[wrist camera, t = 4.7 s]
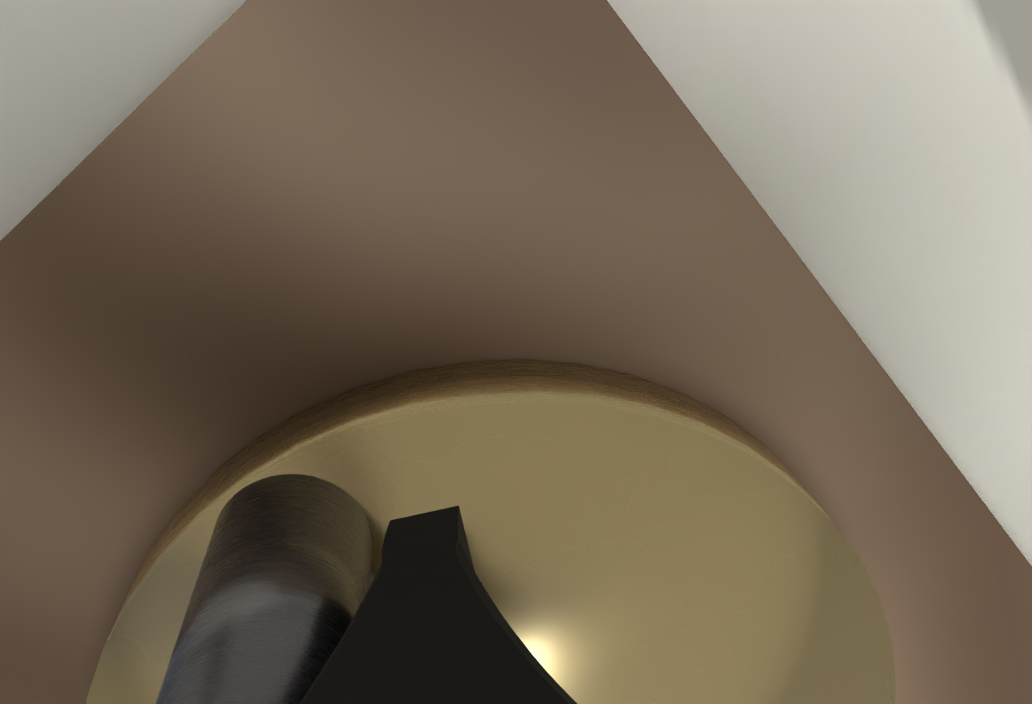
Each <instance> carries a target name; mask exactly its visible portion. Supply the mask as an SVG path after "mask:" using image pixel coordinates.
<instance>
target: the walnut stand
mask: <svg viewBox="0 0 1032 704" xmlns="http://www.w3.org/2000/svg"><path fill="white" fill-rule="evenodd" d="M514 360H531V361H543V362H555V363H568V364H580V365H585V366H589V367H594V368H599V369H604V370H608V371H613V372H618V373H623V374H627V375H632V376H635V377H638V378H641V379H643V380H646V381H649V382H652V383H655V384H658V385H660V386H663V387H666V388H669V389H672V390H675V391H677V392H680V393H682V394H684V395H686V396H688V397H690V398H692V399H694V400H696V401H698V402H700V403H701V404H703V405H705V406H707V407H709V408H711V409H713V410H715V411H717V412H719V413H721V414H723V415H724V416H726V417H727V418H729V419H730V420H731V421H733V422H734V423H736V424H737V425H738V426H740V427H741V428H742V429H744V430H745V431H747V432H748V433H749V434H751V435H752V436H754V437H755V438H756V439H758V440H759V441H761V442H762V443H763V444H764V445H765V446H766V447H767V448H768V449H769V450H770V451H771V452H772V453H773V454H774V455H775V456H776V457H777V458H778V459H779V460H780V461H781V462H782V463H783V464H784V465H785V466H786V467H787V468H788V469H789V470H790V471H791V472H792V473H793V474H794V475H795V476H796V477H797V479H798V480H799V481H800V482H801V484H802V485H803V486H804V487H805V488H806V490H807V491H808V492H809V493H810V495H811V496H812V497H813V498H814V500H815V501H816V502H817V503H818V504H819V506H820V507H821V508H822V509H823V511H824V512H825V513H826V514H827V515H828V517H829V518H830V519H831V520H832V522H833V523H834V524H835V526H836V527H837V528H838V530H839V531H840V532H841V534H842V535H843V536H844V538H845V539H846V540H847V542H848V543H849V545H850V546H851V547H852V549H853V550H854V551H855V553H856V554H857V555H858V557H859V558H860V560H861V562H862V564H863V566H864V568H865V570H866V572H867V574H868V576H869V578H870V580H871V582H872V584H873V586H874V588H875V590H876V592H877V594H878V596H879V599H880V602H881V606H882V609H883V612H884V615H885V619H886V622H887V625H888V628H889V632H890V635H891V642H892V650H893V658H894V665H895V673H896V685H895V704H1032V566H1031V565H1030V564H1029V562H1028V561H1027V560H1026V558H1025V557H1024V556H1023V554H1022V553H1021V552H1020V550H1019V549H1018V548H1017V546H1016V545H1015V544H1014V542H1013V541H1012V540H1011V538H1010V537H1009V536H1008V534H1007V533H1006V532H1005V530H1004V529H1003V528H1002V526H1001V525H1000V524H999V522H998V521H997V520H996V518H995V517H994V516H993V514H992V513H991V512H990V510H989V509H988V508H987V506H986V505H985V504H984V502H983V501H982V500H981V498H980V497H979V496H978V494H977V493H976V492H975V490H974V489H973V488H972V486H971V485H970V484H969V482H968V481H967V480H966V478H965V477H964V476H963V474H962V473H961V472H960V470H959V469H958V468H957V466H956V465H955V464H954V462H953V461H952V460H951V458H950V457H949V456H948V454H947V453H946V452H945V450H944V449H943V448H942V446H941V445H940V444H939V442H938V441H937V440H936V438H935V437H934V436H933V434H932V433H931V432H930V430H929V429H928V428H927V426H926V425H925V424H924V422H923V421H922V420H921V418H920V417H919V416H918V414H917V413H916V412H915V410H914V409H913V408H912V407H911V405H910V404H909V403H908V401H907V400H906V399H905V397H904V396H903V395H902V393H901V392H900V391H899V389H898V388H897V387H896V385H895V384H894V383H893V381H892V380H891V379H890V377H889V376H888V375H887V373H886V372H885V371H884V369H883V368H882V367H881V365H880V364H879V363H878V361H877V360H876V359H875V357H874V356H873V355H872V353H871V352H870V351H869V349H868V348H867V347H866V345H865V344H864V343H863V341H862V340H861V339H860V337H859V336H858V335H857V333H856V332H855V331H854V329H853V328H852V327H851V325H850V324H849V323H848V321H847V320H846V319H845V317H844V316H843V315H842V313H841V312H840V311H839V309H838V308H837V307H836V305H835V304H834V303H833V301H832V300H831V299H830V297H829V296H828V295H827V293H826V292H825V291H824V289H823V288H822V287H821V285H820V284H819V283H818V281H817V280H816V279H815V277H814V276H813V275H812V273H811V272H810V271H809V269H808V268H807V267H806V265H805V264H804V263H803V261H802V260H801V259H800V257H799V256H798V255H797V253H796V252H795V251H794V249H793V248H792V247H791V245H790V244H789V243H788V241H787V240H786V239H785V237H784V236H783V235H782V233H781V232H780V231H779V229H778V228H777V227H776V225H775V224H774V223H773V221H772V220H771V219H770V217H769V216H768V215H767V213H766V212H765V211H764V209H763V208H762V207H761V205H760V204H759V203H758V201H757V200H756V199H755V197H754V196H753V195H752V193H751V192H750V191H749V189H748V188H747V187H746V185H745V184H744V183H743V181H742V180H741V179H740V177H739V176H738V175H737V173H736V172H735V171H734V169H733V168H732V167H731V165H730V164H729V163H728V161H727V160H726V159H725V157H724V156H723V155H722V153H721V152H720V151H719V149H718V148H717V147H716V145H715V144H714V143H713V141H712V140H711V139H710V137H709V136H708V135H707V133H706V132H705V131H704V129H703V128H702V127H701V125H700V124H699V123H698V121H697V120H696V119H695V117H694V116H693V115H692V113H691V112H690V111H689V109H688V108H687V107H686V105H685V104H684V103H683V101H682V100H681V99H680V98H679V96H678V95H677V94H676V92H675V91H674V90H673V88H672V87H671V86H670V84H669V83H668V82H667V80H666V79H665V78H664V76H663V75H662V74H661V72H660V71H659V70H658V68H657V67H656V66H655V64H654V63H653V62H652V60H651V59H650V58H649V56H648V55H647V54H646V52H645V51H644V50H643V48H642V47H641V46H640V44H639V43H638V42H637V40H636V39H635V38H634V36H633V35H632V34H631V32H630V31H629V30H628V28H627V27H626V26H625V24H624V23H623V22H622V20H621V19H620V18H619V16H618V15H617V14H616V12H615V11H614V10H613V8H612V7H611V6H610V4H609V3H608V2H607V0H247V1H246V2H245V3H244V4H243V5H242V6H241V7H240V8H239V9H238V10H237V11H236V12H235V13H234V14H233V15H232V16H231V17H230V18H229V19H228V20H227V21H226V22H225V23H224V24H223V25H222V26H221V27H220V28H219V29H218V30H217V31H216V32H215V33H214V34H213V35H211V36H210V37H209V38H208V39H207V40H206V41H205V42H204V43H203V44H202V45H201V46H200V47H199V48H198V49H197V50H196V51H195V52H194V53H193V54H192V55H191V56H190V57H189V58H188V59H187V60H186V61H185V62H184V63H183V64H182V65H181V66H180V67H179V68H178V69H177V70H176V71H175V72H174V73H173V74H172V75H170V76H169V77H168V78H167V79H166V80H165V81H164V82H163V83H162V84H161V85H160V86H159V87H158V88H157V89H156V90H155V91H154V92H153V93H152V94H151V95H150V96H149V97H148V98H147V99H146V100H145V101H144V102H143V103H142V104H141V105H140V106H139V107H138V108H137V109H136V110H135V111H134V112H133V113H132V114H131V115H130V116H128V117H127V118H126V119H125V120H124V121H123V122H122V123H121V124H120V125H119V126H118V127H117V128H116V129H115V130H114V131H113V132H112V133H111V134H110V135H109V136H108V137H107V138H106V139H105V140H104V141H103V142H102V143H101V144H100V145H99V146H98V147H97V148H96V149H95V150H94V151H93V152H92V153H91V154H90V155H89V156H87V157H86V158H85V159H84V160H83V161H82V162H81V163H80V164H79V165H78V166H77V167H76V168H75V169H74V170H73V171H72V172H71V173H70V174H69V175H68V176H67V177H66V178H65V179H64V180H63V181H62V182H61V183H60V184H59V185H58V186H57V187H56V188H55V189H54V190H53V191H52V192H51V193H50V194H49V195H48V196H47V197H45V198H44V199H43V200H42V201H41V202H40V203H39V204H38V205H37V206H36V207H35V208H34V209H33V210H32V211H31V212H30V213H29V214H28V215H27V216H26V217H25V218H24V219H23V220H22V221H21V222H20V223H19V224H18V225H17V226H16V227H15V228H14V229H13V230H12V231H11V232H10V233H9V234H8V235H7V236H6V237H4V238H3V239H2V240H1V241H0V704H86V700H87V696H88V693H89V690H90V687H91V684H92V681H93V678H94V674H95V671H96V668H97V665H98V662H99V659H100V656H101V653H102V651H103V648H104V646H105V644H106V642H107V639H108V637H109V635H110V632H111V630H112V628H113V626H114V623H115V621H116V619H117V617H118V614H119V612H120V610H121V607H122V605H123V603H124V601H125V598H126V596H127V594H128V592H129V589H130V587H131V585H132V584H133V582H134V580H135V578H136V576H137V574H138V572H139V570H140V568H141V566H142V564H143V562H144V560H145V558H146V556H147V554H148V552H149V550H150V548H151V547H152V546H153V544H154V543H155V541H156V540H157V539H158V537H159V536H160V534H161V533H162V532H163V530H164V529H165V528H166V526H167V525H168V523H169V522H170V521H171V519H172V518H173V517H174V515H175V514H176V512H177V511H178V510H179V508H180V507H181V506H182V505H183V504H184V503H185V502H186V501H187V500H188V499H189V498H190V497H191V496H192V495H193V494H194V493H195V492H196V491H197V490H198V489H199V488H200V487H201V486H202V485H203V484H204V483H205V481H206V480H207V479H208V478H209V477H210V476H211V475H212V474H213V473H214V472H215V471H216V470H218V469H219V468H220V467H221V466H223V465H224V464H225V463H227V462H228V461H229V460H230V459H232V458H233V457H234V456H236V455H237V454H238V453H239V452H241V451H242V450H243V449H245V448H246V447H247V446H248V445H250V444H251V443H252V442H254V441H255V440H256V439H257V438H259V437H261V436H262V435H264V434H266V433H267V432H269V431H271V430H273V429H274V428H276V427H278V426H279V425H281V424H283V423H284V422H286V421H288V420H289V419H291V418H293V417H295V416H296V415H298V414H300V413H301V412H303V411H305V410H307V409H309V408H311V407H314V406H316V405H318V404H321V403H323V402H325V401H328V400H330V399H332V398H335V397H337V396H339V395H342V394H344V393H346V392H349V391H351V390H353V389H356V388H358V387H362V386H365V385H368V384H372V383H375V382H379V381H382V380H386V379H389V378H392V377H396V376H399V375H403V374H406V373H409V372H413V371H420V370H426V369H432V368H438V367H444V366H450V365H456V364H462V363H468V362H490V361H514Z"/></svg>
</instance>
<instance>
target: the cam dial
mask: <svg viewBox="0 0 1032 704" xmlns="http://www.w3.org/2000/svg"><path fill="white" fill-rule="evenodd" d="M454 506H459V508H460V512H461V516H462V521H463V525H464V529H465V533H466V537H467V541H468V546H469V550H470V554H471V558H472V562H473V566H474V571H475V573H476V575H477V577H478V578H479V580H480V582H481V583H482V585H483V586H484V588H485V590H486V591H487V593H488V594H489V596H490V597H491V599H492V600H493V602H494V603H495V605H496V607H497V608H498V610H499V611H500V613H501V614H502V615H503V617H504V618H505V620H506V621H507V622H508V624H509V625H510V627H511V628H512V629H513V631H514V632H515V633H516V634H517V636H518V637H519V638H520V639H521V641H522V642H523V643H524V644H525V646H526V647H527V648H528V650H529V651H530V652H531V653H532V655H533V656H534V657H535V658H536V659H537V660H538V662H539V663H540V664H541V665H542V666H543V668H544V669H545V670H546V671H547V672H548V673H549V674H550V675H551V677H552V678H553V679H554V680H555V681H556V682H557V683H558V684H559V685H560V686H561V687H562V688H563V689H564V690H565V691H566V692H567V693H568V694H569V696H570V697H571V698H572V699H573V700H574V701H575V702H576V703H577V704H895V685H896V673H895V665H894V658H893V650H892V642H891V635H890V632H889V628H888V625H887V622H886V619H885V615H884V612H883V609H882V606H881V602H880V599H879V596H878V594H877V592H876V590H875V588H874V586H873V584H872V582H871V580H870V578H869V576H868V574H867V572H866V570H865V568H864V566H863V564H862V562H861V560H860V558H859V557H858V555H857V554H856V553H855V551H854V550H853V549H852V547H851V546H850V545H849V543H848V542H847V540H846V539H845V538H844V536H843V535H842V534H841V532H840V531H839V530H838V528H837V527H836V526H835V524H834V523H833V522H832V520H831V519H830V518H829V517H828V515H827V514H826V513H825V512H824V511H823V509H822V508H821V507H820V506H819V504H818V503H817V502H816V501H815V500H814V498H813V497H812V496H811V495H810V493H809V492H808V491H807V490H806V488H805V487H804V486H803V485H802V484H801V482H800V481H799V480H798V479H797V477H796V476H795V475H794V474H793V473H792V472H791V471H790V470H789V469H788V468H787V467H786V466H785V465H784V464H783V463H782V462H781V461H780V460H779V459H778V458H777V457H776V456H775V455H774V454H773V453H772V452H771V451H770V450H769V449H768V448H767V447H766V446H765V445H764V444H763V443H762V442H761V441H759V440H758V439H756V438H755V437H754V436H752V435H751V434H749V433H748V432H747V431H745V430H744V429H742V428H741V427H740V426H738V425H737V424H736V423H734V422H733V421H731V420H730V419H729V418H727V417H726V416H724V415H723V414H721V413H719V412H717V411H715V410H713V409H711V408H709V407H707V406H705V405H703V404H701V403H700V402H698V401H696V400H694V399H692V398H690V397H688V396H686V395H684V394H682V393H680V392H677V391H675V390H672V389H669V388H666V387H663V386H660V385H658V384H655V383H652V382H649V381H646V380H643V379H641V378H638V377H635V376H632V375H627V374H623V373H618V372H613V371H608V370H604V369H599V368H594V367H589V366H585V365H580V364H568V363H555V362H543V361H531V360H514V361H490V362H468V363H462V364H456V365H450V366H444V367H438V368H432V369H426V370H420V371H413V372H409V373H406V374H403V375H399V376H396V377H392V378H389V379H386V380H382V381H379V382H375V383H372V384H368V385H365V386H362V387H358V388H356V389H353V390H351V391H349V392H346V393H344V394H342V395H339V396H337V397H335V398H332V399H330V400H328V401H325V402H323V403H321V404H318V405H316V406H314V407H311V408H309V409H307V410H305V411H303V412H301V413H300V414H298V415H296V416H295V417H293V418H291V419H289V420H288V421H286V422H284V423H283V424H281V425H279V426H278V427H276V428H274V429H273V430H271V431H269V432H267V433H266V434H264V435H262V436H261V437H259V438H257V439H256V440H255V441H254V442H252V443H251V444H250V445H248V446H247V447H246V448H245V449H243V450H242V451H241V452H239V453H238V454H237V455H236V456H234V457H233V458H232V459H230V460H229V461H228V462H227V463H225V464H224V465H223V466H221V467H220V468H219V469H218V470H216V471H215V472H214V473H213V474H212V475H211V476H210V477H209V478H208V479H207V480H206V481H205V483H204V484H203V485H202V486H201V487H200V488H199V489H198V490H197V491H196V492H195V493H194V494H193V495H192V496H191V497H190V498H189V499H188V500H187V501H186V502H185V503H184V504H183V505H182V506H181V507H180V508H179V510H178V511H177V512H176V514H175V515H174V517H173V518H172V519H171V521H170V522H169V523H168V525H167V526H166V528H165V529H164V530H163V532H162V533H161V534H160V536H159V537H158V539H157V540H156V541H155V543H154V544H153V546H152V547H151V548H150V550H149V552H148V554H147V556H146V558H145V560H144V562H143V564H142V566H141V568H140V570H139V572H138V574H137V576H136V578H135V580H134V582H133V584H132V585H131V587H130V589H129V592H128V594H127V596H126V598H125V601H124V603H123V605H122V607H121V610H120V612H119V614H118V617H117V619H116V621H115V623H114V626H113V628H112V630H111V632H110V635H109V637H108V639H107V642H106V644H105V646H104V648H103V651H102V653H101V656H100V659H99V662H98V665H97V668H96V671H95V674H94V678H93V681H92V684H91V687H90V690H89V693H88V696H87V700H86V704H300V702H301V701H302V699H303V698H304V696H305V695H306V693H307V692H308V690H309V689H310V687H311V686H312V684H313V682H314V681H315V679H316V678H317V676H318V675H319V673H320V672H321V670H322V668H323V667H324V665H325V664H326V662H327V661H328V659H329V657H330V656H331V654H332V653H333V651H334V650H335V648H336V647H337V645H338V643H339V642H340V640H341V638H342V636H343V635H344V633H345V631H346V629H347V628H348V626H349V624H350V622H351V620H352V619H353V617H354V615H355V613H356V611H357V610H358V608H359V606H360V604H361V602H362V601H363V599H364V597H365V595H366V593H367V592H368V590H369V588H370V586H371V584H372V582H373V580H374V578H375V576H376V574H377V572H378V570H379V568H380V566H381V564H382V547H383V542H384V538H385V534H386V531H387V528H388V525H389V522H390V520H394V519H398V518H403V517H408V516H412V515H417V514H422V513H426V512H431V511H436V510H440V509H445V508H449V507H454Z"/></svg>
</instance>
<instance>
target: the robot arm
mask: <svg viewBox="0 0 1032 704" xmlns="http://www.w3.org/2000/svg"><path fill="white" fill-rule="evenodd" d="M300 704H577V703H576V702H575V701H574V700H573V699H572V698H571V697H570V696H569V694H568V693H567V692H566V691H565V690H564V689H563V688H562V687H561V686H560V685H559V684H558V683H557V682H556V681H555V680H554V679H553V678H552V677H551V675H550V674H549V673H548V672H547V671H546V670H545V669H544V668H543V666H542V665H541V664H540V663H539V662H538V660H537V659H536V658H535V657H534V656H533V655H532V653H531V652H530V651H529V650H528V648H527V647H526V646H525V644H524V643H523V642H522V641H521V639H520V638H519V637H518V636H517V634H516V633H515V632H514V631H513V629H512V628H511V627H510V625H509V624H508V622H507V621H506V620H505V618H504V617H503V615H502V614H501V613H500V611H499V610H498V608H497V607H496V605H495V603H494V602H493V600H492V599H491V597H490V596H489V594H488V593H487V591H486V590H485V588H484V586H483V585H482V583H481V582H480V580H479V578H478V577H477V575H476V573H475V571H474V566H473V562H472V558H471V554H470V550H469V546H468V541H467V537H466V533H465V529H464V525H463V521H462V516H461V512H460V508H459V506H454V507H449V508H445V509H440V510H436V511H431V512H426V513H422V514H417V515H412V516H408V517H403V518H398V519H394V520H390V522H389V525H388V528H387V531H386V534H385V538H384V542H383V547H382V564H381V566H380V568H379V570H378V572H377V574H376V576H375V578H374V580H373V582H372V584H371V586H370V588H369V590H368V592H367V593H366V595H365V597H364V599H363V601H362V602H361V604H360V606H359V608H358V610H357V611H356V613H355V615H354V617H353V619H352V620H351V622H350V624H349V626H348V628H347V629H346V631H345V633H344V635H343V636H342V638H341V640H340V642H339V643H338V645H337V647H336V648H335V650H334V651H333V653H332V654H331V656H330V657H329V659H328V661H327V662H326V664H325V665H324V667H323V668H322V670H321V672H320V673H319V675H318V676H317V678H316V679H315V681H314V682H313V684H312V686H311V687H310V689H309V690H308V692H307V693H306V695H305V696H304V698H303V699H302V701H301V702H300Z"/></svg>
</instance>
